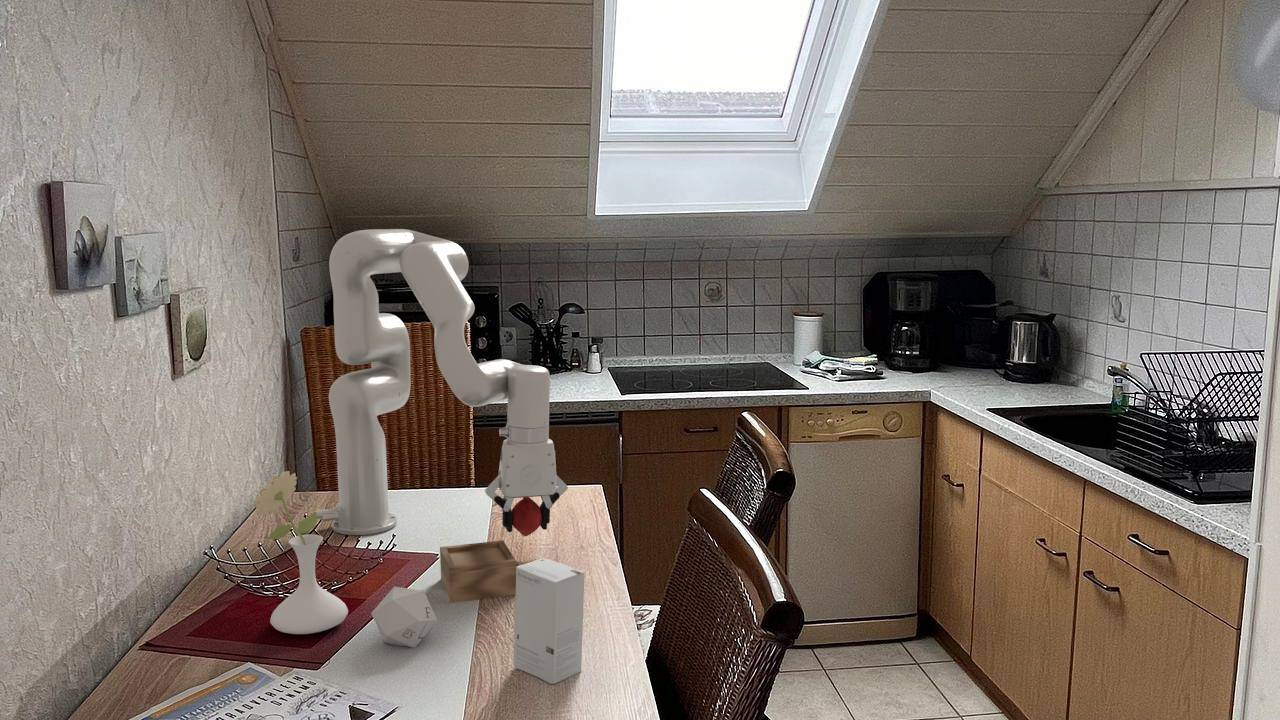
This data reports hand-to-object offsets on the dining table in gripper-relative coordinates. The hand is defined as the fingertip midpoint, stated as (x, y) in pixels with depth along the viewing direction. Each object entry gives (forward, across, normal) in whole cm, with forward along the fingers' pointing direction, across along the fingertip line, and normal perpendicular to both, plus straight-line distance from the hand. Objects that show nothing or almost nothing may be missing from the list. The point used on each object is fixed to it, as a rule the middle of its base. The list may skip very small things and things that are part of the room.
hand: (526, 527), depth 184 cm
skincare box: (+4, -7, -47) cm, 48 cm away
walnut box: (+5, -11, -13) cm, 18 cm away
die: (+5, -25, -31) cm, 40 cm away
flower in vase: (+6, -39, -21) cm, 45 cm away
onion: (+2, 0, 0) cm, 2 cm away
